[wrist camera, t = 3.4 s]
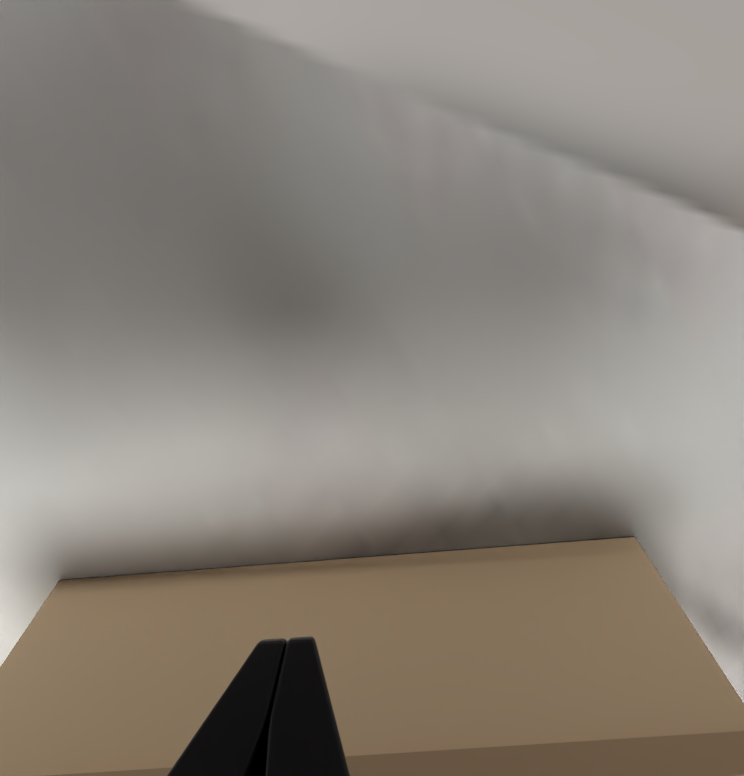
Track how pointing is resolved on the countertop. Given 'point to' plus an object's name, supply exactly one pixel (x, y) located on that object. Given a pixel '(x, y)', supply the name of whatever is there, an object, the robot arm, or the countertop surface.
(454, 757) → the carton lid
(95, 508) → the countertop surface
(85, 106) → the countertop surface
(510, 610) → the carton
